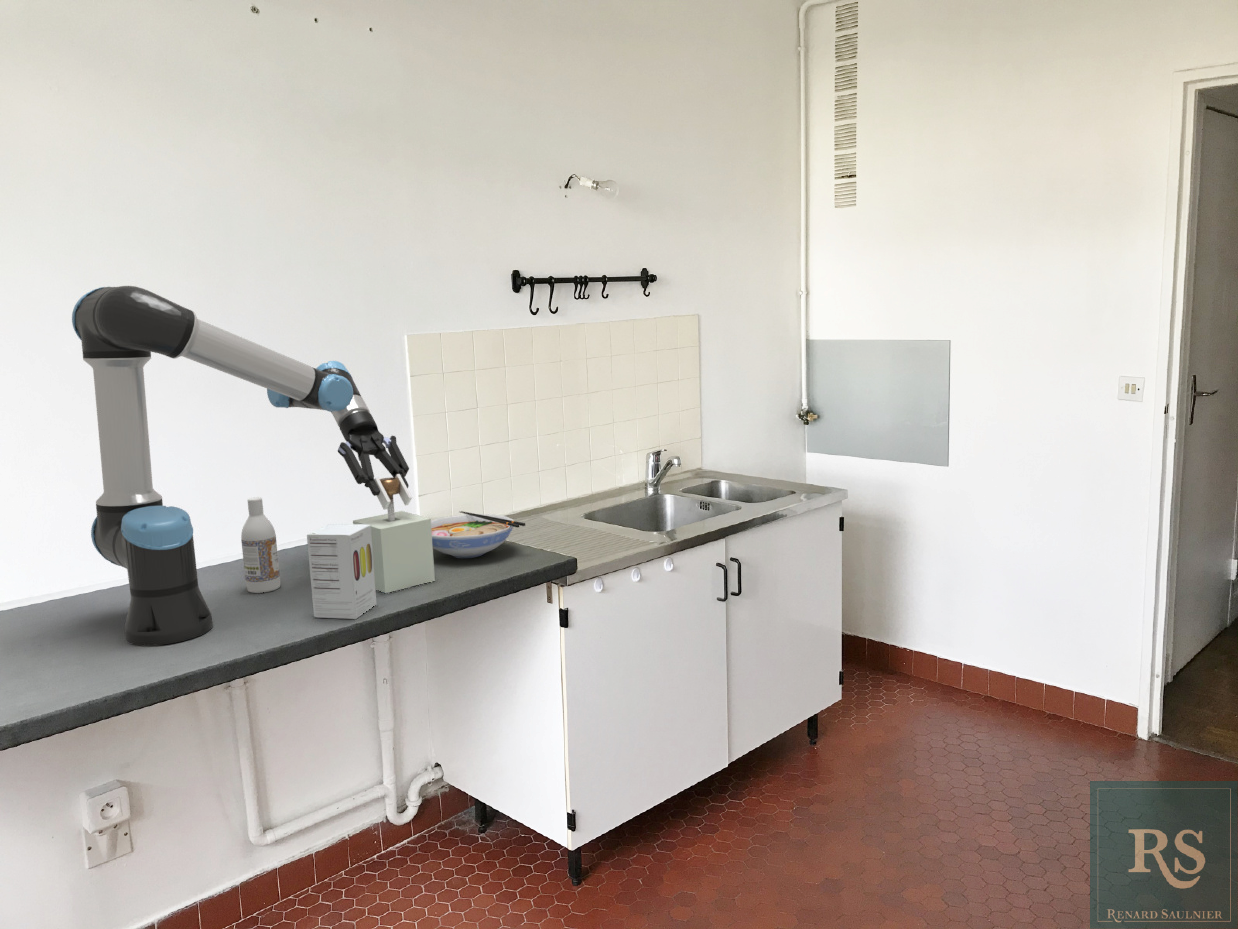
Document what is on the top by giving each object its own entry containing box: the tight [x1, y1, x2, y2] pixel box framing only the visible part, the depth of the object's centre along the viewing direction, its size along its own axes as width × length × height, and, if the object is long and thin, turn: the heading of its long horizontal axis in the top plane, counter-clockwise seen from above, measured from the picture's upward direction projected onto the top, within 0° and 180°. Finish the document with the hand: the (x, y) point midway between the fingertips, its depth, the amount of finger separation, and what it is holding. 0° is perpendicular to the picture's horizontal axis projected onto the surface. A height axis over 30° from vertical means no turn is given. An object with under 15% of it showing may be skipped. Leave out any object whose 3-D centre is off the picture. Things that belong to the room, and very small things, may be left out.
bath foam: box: [240, 496, 281, 594], centre depth 208 cm, size 7×7×20 cm
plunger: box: [379, 477, 400, 522], centre depth 209 cm, size 9×9×19 cm
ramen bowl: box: [431, 510, 526, 559], centre depth 231 cm, size 25×23×8 cm
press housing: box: [352, 510, 436, 593], centre depth 210 cm, size 12×12×14 cm
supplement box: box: [306, 523, 377, 620], centre depth 191 cm, size 10×9×17 cm
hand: (397, 503), depth 206 cm, fingers closed on plunger, 4 cm apart
